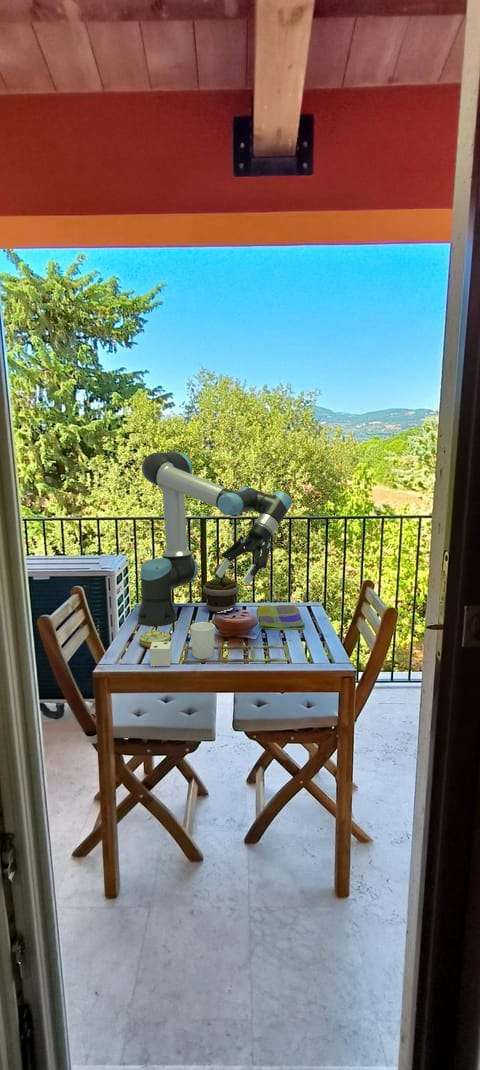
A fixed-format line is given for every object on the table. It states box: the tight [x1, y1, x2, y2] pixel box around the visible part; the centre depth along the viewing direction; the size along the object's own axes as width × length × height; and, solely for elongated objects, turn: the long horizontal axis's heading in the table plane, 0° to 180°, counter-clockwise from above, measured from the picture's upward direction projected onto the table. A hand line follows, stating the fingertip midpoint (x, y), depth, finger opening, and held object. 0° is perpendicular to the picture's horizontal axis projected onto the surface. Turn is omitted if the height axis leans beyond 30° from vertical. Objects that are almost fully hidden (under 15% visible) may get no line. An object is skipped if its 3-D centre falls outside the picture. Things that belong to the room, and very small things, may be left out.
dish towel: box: [256, 604, 306, 631], centre depth 211 cm, size 18×24×3 cm
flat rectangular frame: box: [182, 644, 291, 664], centre depth 176 cm, size 34×12×1 cm, turn 92°
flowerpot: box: [202, 562, 240, 614], centre depth 221 cm, size 14×15×20 cm
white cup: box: [190, 621, 216, 660], centre depth 175 cm, size 8×8×10 cm
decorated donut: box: [138, 629, 171, 649], centre depth 186 cm, size 10×11×4 cm
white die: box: [149, 641, 173, 668], centre depth 169 cm, size 6×6×6 cm
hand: (231, 579), depth 180 cm, fingers open, 13 cm apart
